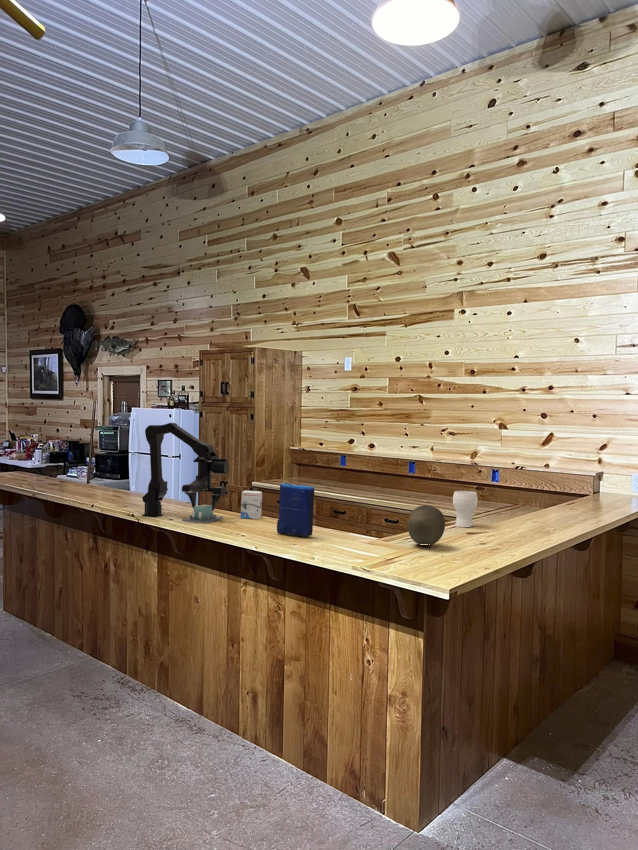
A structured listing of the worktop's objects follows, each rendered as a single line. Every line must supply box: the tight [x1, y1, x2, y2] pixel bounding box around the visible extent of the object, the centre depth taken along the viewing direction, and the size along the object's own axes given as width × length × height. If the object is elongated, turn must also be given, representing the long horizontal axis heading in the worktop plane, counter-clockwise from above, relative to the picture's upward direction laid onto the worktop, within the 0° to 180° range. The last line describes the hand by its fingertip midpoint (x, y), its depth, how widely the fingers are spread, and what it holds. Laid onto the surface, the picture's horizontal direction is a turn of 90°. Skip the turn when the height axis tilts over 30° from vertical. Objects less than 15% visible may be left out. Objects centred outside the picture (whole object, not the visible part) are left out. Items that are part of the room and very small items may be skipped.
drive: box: [193, 504, 212, 520], centre depth 276 cm, size 4×8×5 cm, turn 161°
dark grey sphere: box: [407, 504, 446, 546], centre depth 236 cm, size 14×14×15 cm
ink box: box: [240, 490, 263, 520], centre depth 284 cm, size 9×5×12 cm, turn 84°
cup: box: [452, 490, 479, 528], centre depth 282 cm, size 11×11×15 cm
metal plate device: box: [181, 509, 224, 524], centre depth 276 cm, size 12×14×4 cm
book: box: [276, 482, 315, 538], centre depth 248 cm, size 14×5×20 cm, turn 62°
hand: (203, 509), depth 276 cm, fingers open, 9 cm apart
